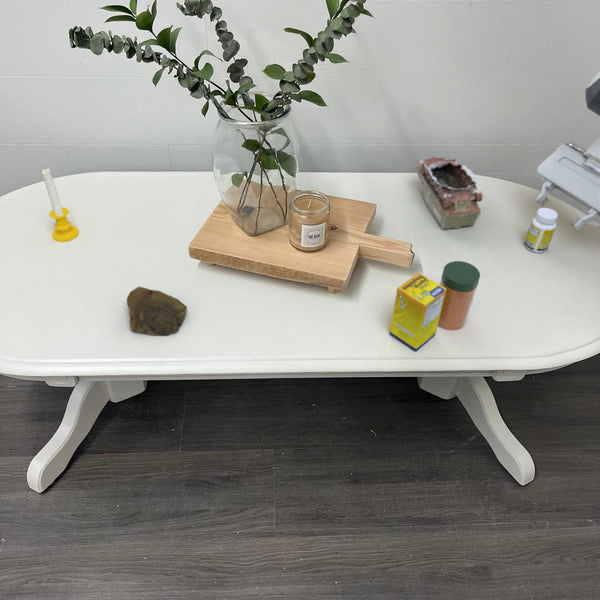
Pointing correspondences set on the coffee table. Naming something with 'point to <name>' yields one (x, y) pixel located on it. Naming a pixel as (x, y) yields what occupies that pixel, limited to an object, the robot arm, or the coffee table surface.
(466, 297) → the jar
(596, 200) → the robot arm
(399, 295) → the supplement box
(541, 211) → the supplement bottle
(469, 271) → the lid
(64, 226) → the candle
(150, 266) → the coffee table surface
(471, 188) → the decorative box
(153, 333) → the decorative stone
